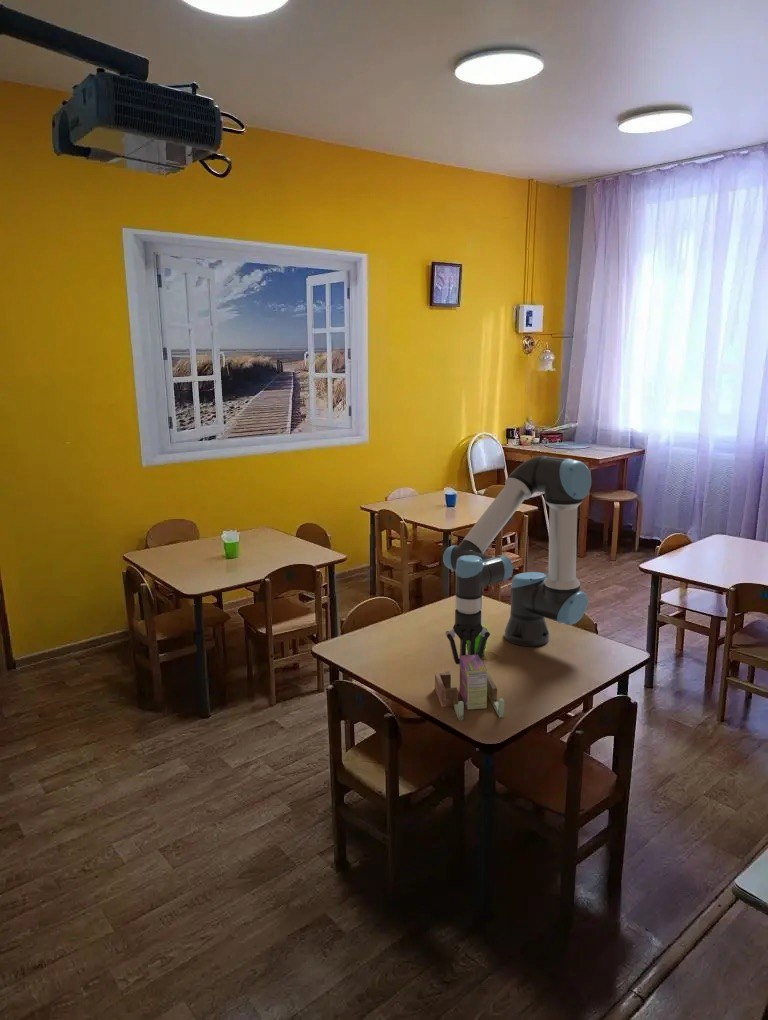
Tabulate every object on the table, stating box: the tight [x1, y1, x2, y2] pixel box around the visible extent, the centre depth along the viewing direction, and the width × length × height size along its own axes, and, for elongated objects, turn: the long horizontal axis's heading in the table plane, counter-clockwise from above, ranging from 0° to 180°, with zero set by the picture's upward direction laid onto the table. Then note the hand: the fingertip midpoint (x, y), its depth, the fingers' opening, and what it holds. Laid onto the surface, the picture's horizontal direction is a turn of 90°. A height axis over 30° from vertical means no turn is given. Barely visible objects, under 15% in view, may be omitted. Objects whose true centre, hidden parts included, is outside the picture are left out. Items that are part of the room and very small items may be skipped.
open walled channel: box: [434, 670, 498, 708], centre depth 199 cm, size 16×12×5 cm
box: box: [459, 654, 488, 710], centre depth 195 cm, size 10×6×12 cm, turn 6°
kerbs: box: [453, 698, 505, 721], centre depth 189 cm, size 12×6×5 cm, turn 96°
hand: (466, 684), depth 203 cm, fingers closed
